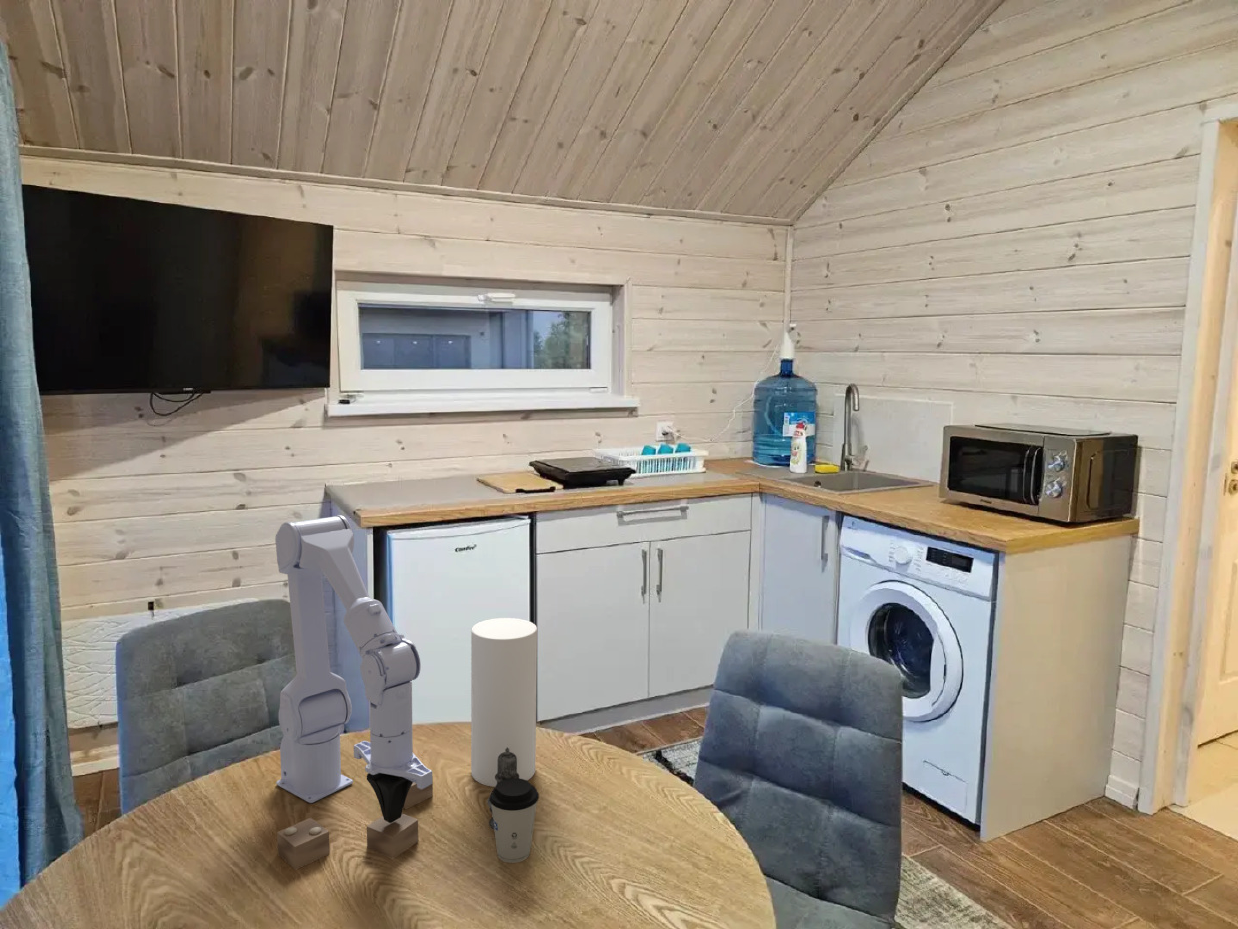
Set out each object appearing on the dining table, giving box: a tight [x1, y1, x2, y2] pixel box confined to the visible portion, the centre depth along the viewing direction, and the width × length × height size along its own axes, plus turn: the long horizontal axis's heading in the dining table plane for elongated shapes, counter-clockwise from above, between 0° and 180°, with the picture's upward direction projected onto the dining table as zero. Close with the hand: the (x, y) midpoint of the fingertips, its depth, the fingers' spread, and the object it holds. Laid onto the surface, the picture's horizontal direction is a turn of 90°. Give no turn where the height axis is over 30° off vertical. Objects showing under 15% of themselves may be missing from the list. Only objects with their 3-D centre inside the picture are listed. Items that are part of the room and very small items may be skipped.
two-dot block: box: [276, 817, 330, 870], centre depth 117 cm, size 5×5×4 cm
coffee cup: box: [488, 778, 540, 864], centre depth 118 cm, size 7×7×10 cm
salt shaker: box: [486, 747, 519, 831], centre depth 125 cm, size 6×6×12 cm
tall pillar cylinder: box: [470, 617, 538, 788], centre depth 139 cm, size 11×11×25 cm
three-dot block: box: [403, 775, 434, 810], centre depth 132 cm, size 5×5×4 cm
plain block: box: [366, 813, 419, 860], centre depth 119 cm, size 5×5×4 cm
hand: (392, 818), depth 119 cm, fingers closed
